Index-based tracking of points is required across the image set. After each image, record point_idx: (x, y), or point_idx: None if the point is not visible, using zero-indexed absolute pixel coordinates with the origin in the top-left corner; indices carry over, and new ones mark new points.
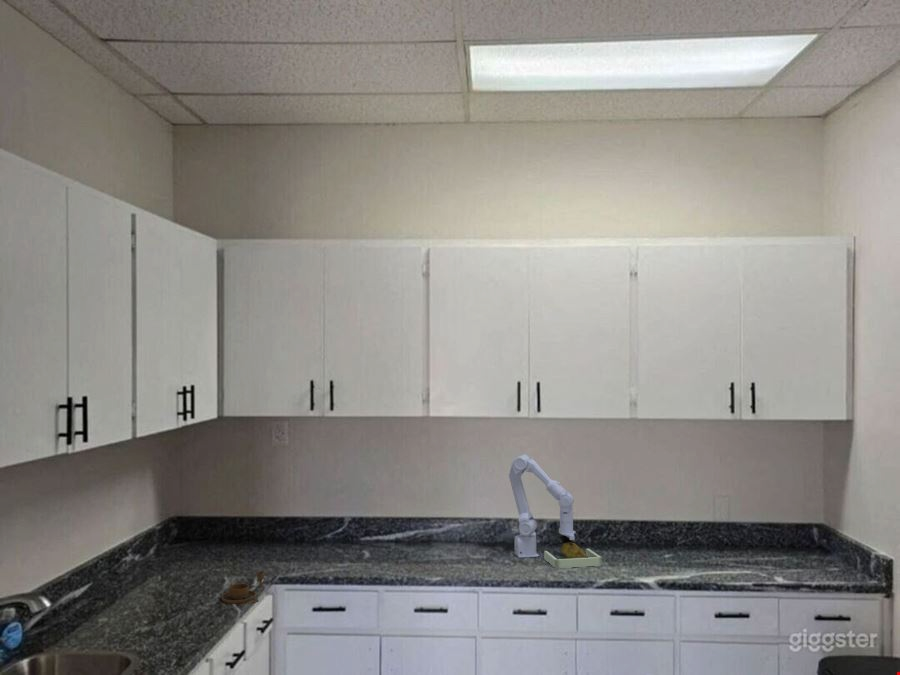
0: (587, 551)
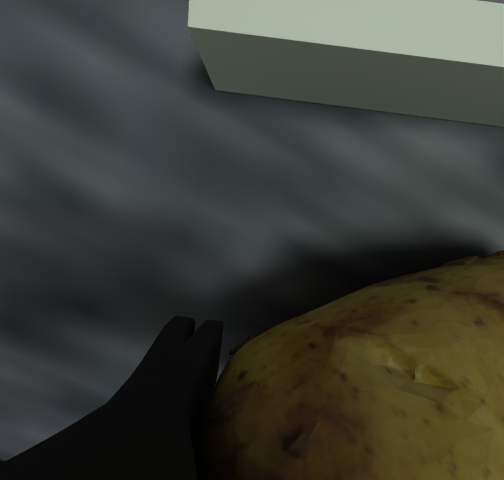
0: (262, 54)
